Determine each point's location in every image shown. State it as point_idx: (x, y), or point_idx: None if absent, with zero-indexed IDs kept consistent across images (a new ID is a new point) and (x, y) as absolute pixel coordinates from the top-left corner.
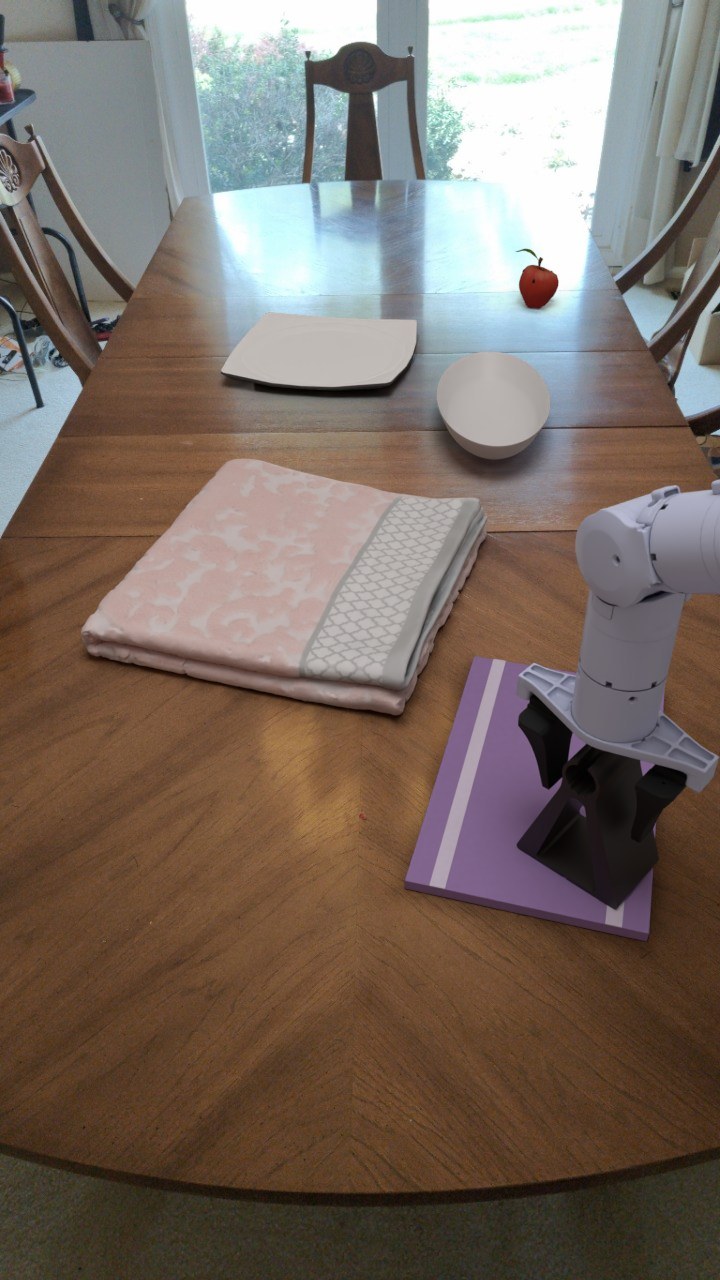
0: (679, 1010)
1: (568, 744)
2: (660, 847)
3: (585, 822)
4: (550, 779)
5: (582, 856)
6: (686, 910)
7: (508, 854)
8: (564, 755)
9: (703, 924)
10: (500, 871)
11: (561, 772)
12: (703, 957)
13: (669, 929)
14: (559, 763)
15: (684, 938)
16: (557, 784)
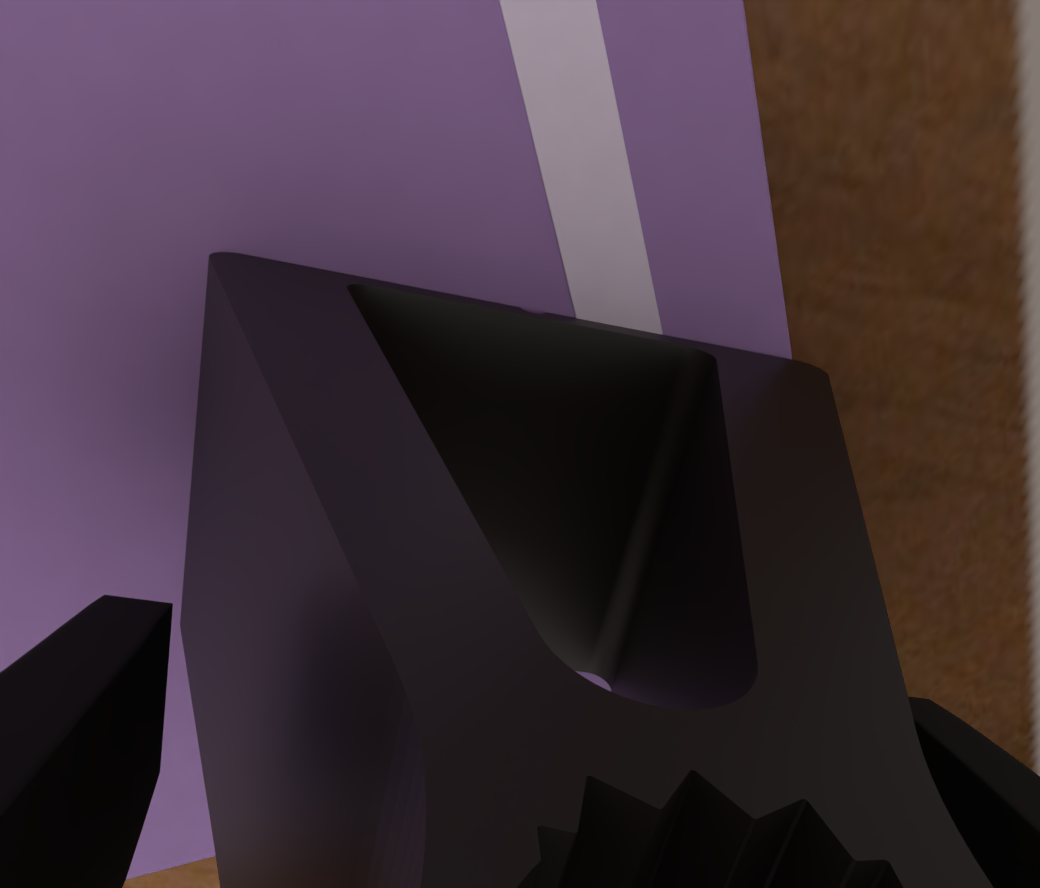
0: None
1: (5, 853)
2: (783, 177)
3: (409, 328)
4: (123, 862)
5: (485, 535)
6: (939, 461)
7: (180, 650)
8: (65, 806)
9: (1008, 488)
10: None
11: (147, 694)
12: (1013, 613)
13: (886, 571)
14: (85, 840)
15: (943, 578)
16: (114, 82)
